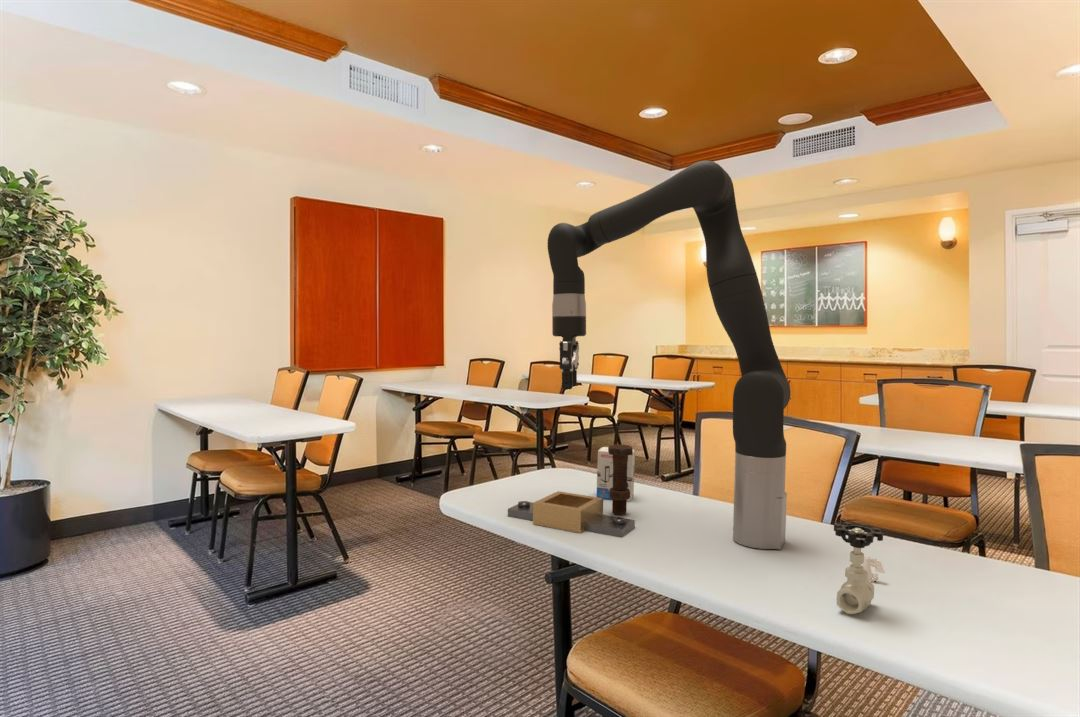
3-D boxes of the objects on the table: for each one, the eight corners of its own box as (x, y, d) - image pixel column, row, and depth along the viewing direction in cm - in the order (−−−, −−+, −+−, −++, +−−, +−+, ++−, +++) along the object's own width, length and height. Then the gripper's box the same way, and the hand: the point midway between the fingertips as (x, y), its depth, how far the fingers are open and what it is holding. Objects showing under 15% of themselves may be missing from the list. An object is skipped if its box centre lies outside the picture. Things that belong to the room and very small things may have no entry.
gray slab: (555, 513, 138) (555, 502, 138) (539, 522, 132) (539, 510, 131) (524, 508, 142) (524, 497, 141) (507, 516, 136) (507, 505, 135)
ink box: (595, 498, 151) (596, 450, 150) (599, 493, 155) (600, 446, 155) (631, 501, 148) (632, 452, 147) (634, 496, 153) (635, 448, 152)
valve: (885, 608, 92) (888, 528, 92) (873, 623, 87) (876, 539, 87) (838, 595, 97) (840, 518, 96) (824, 609, 92) (826, 528, 91)
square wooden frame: (602, 518, 134) (603, 498, 134) (580, 533, 125) (580, 510, 124) (557, 511, 140) (557, 491, 139) (532, 524, 130) (533, 502, 130)
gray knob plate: (634, 527, 129) (634, 516, 128) (621, 537, 122) (621, 525, 122) (594, 520, 133) (595, 509, 133) (580, 529, 127) (580, 517, 127)
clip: (884, 583, 102) (885, 560, 101) (880, 586, 100) (881, 562, 100) (853, 573, 105) (853, 551, 105) (848, 576, 104) (849, 554, 104)
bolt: (632, 517, 135) (633, 449, 135) (609, 517, 135) (610, 448, 135) (629, 510, 141) (630, 444, 140) (606, 509, 141) (607, 443, 141)
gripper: (582, 313, 132) (583, 390, 132) (588, 315, 146) (589, 385, 146) (547, 314, 133) (548, 390, 133) (557, 316, 147) (557, 385, 147)
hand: (569, 387), depth 140 cm, fingers open, 8 cm apart
